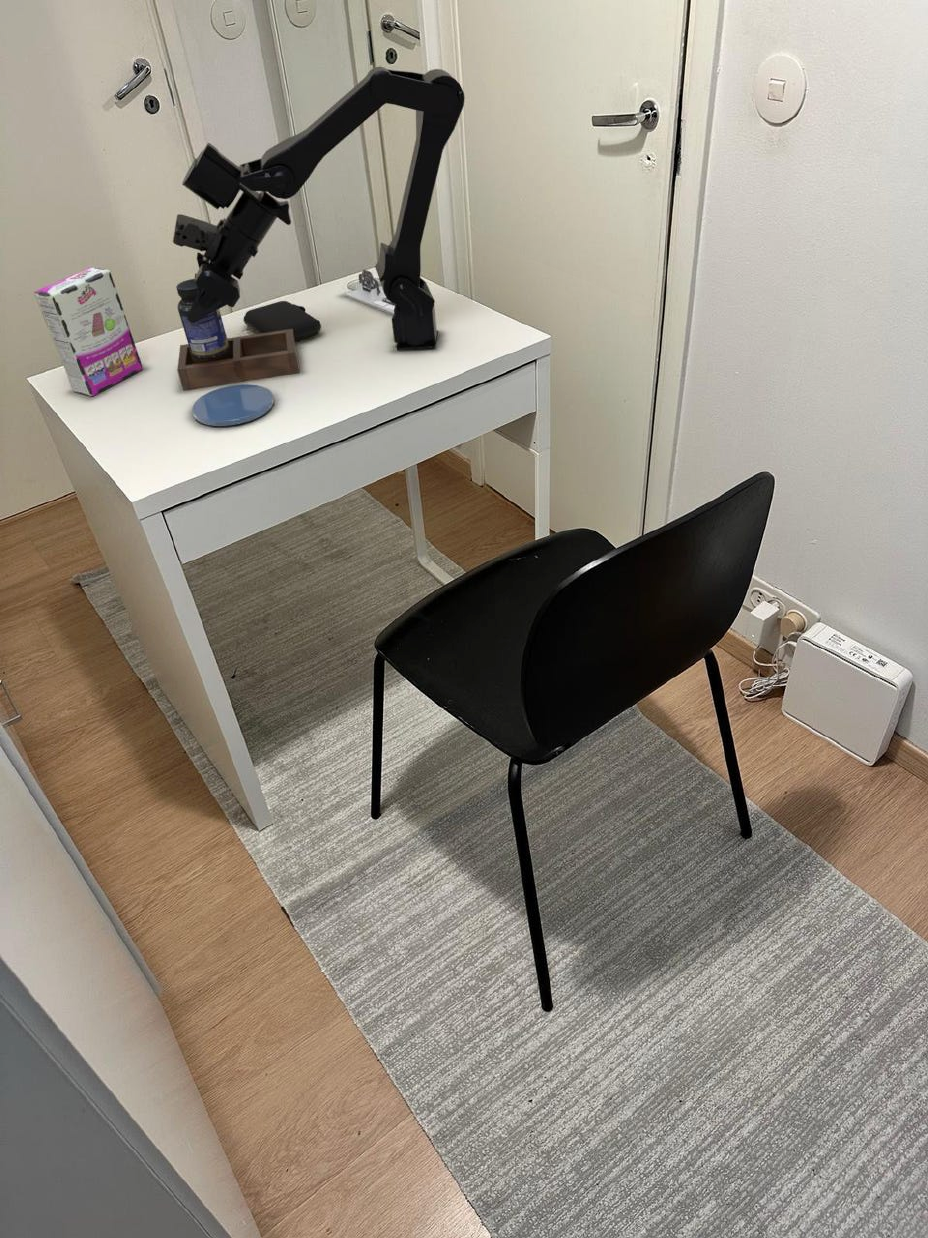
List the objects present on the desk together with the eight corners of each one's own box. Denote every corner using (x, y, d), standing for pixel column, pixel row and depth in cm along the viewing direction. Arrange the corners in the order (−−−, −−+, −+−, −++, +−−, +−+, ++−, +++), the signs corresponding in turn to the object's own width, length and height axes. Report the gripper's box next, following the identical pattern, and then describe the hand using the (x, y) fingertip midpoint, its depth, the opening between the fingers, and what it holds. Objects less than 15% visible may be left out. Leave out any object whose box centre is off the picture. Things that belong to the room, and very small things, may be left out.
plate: (282, 389, 139) (280, 382, 138) (263, 426, 130) (262, 419, 129) (207, 391, 140) (205, 385, 140) (183, 429, 131) (181, 422, 131)
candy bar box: (124, 364, 151) (90, 265, 140) (144, 369, 149) (112, 269, 138) (70, 392, 144) (31, 290, 133) (91, 397, 142) (53, 294, 131)
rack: (296, 348, 151) (292, 328, 148) (299, 372, 143) (295, 351, 141) (185, 365, 149) (180, 344, 147) (183, 390, 141) (177, 369, 139)
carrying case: (332, 334, 154) (295, 310, 164) (329, 317, 152) (292, 294, 162) (275, 352, 150) (241, 326, 160) (272, 334, 148) (237, 310, 158)
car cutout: (344, 296, 168) (341, 271, 165) (373, 285, 171) (369, 261, 168) (394, 315, 159) (390, 289, 156) (422, 304, 162) (420, 278, 159)
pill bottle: (236, 352, 143) (218, 282, 136) (201, 364, 140) (181, 294, 133) (219, 341, 147) (201, 273, 140) (185, 353, 144) (164, 284, 137)
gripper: (197, 177, 136) (146, 262, 142) (192, 211, 122) (136, 304, 128) (261, 223, 142) (209, 303, 148) (264, 261, 128) (207, 348, 134)
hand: (190, 313), depth 139 cm, fingers closed on pill bottle, 6 cm apart
